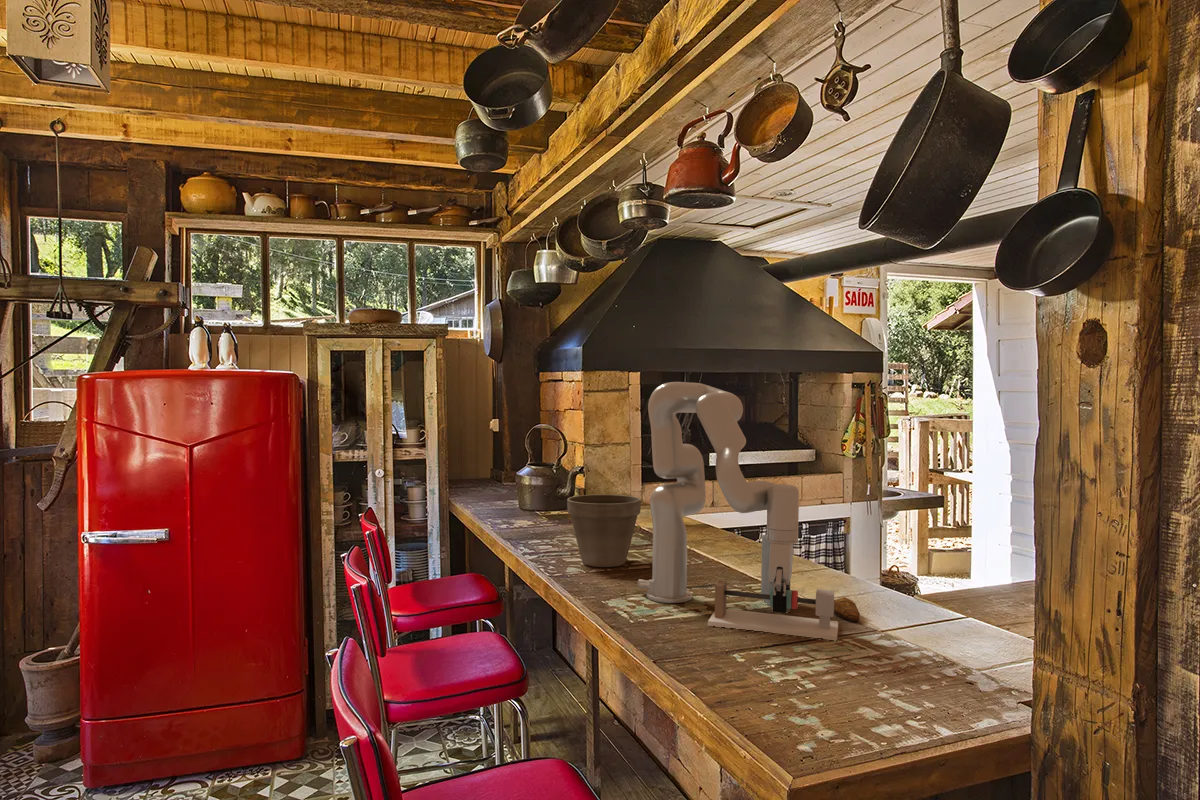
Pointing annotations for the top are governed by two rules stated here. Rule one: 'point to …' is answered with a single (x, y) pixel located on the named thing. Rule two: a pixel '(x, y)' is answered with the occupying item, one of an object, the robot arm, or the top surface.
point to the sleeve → (788, 594)
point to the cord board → (777, 622)
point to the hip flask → (766, 570)
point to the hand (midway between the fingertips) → (781, 607)
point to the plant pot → (604, 527)
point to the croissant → (846, 609)
